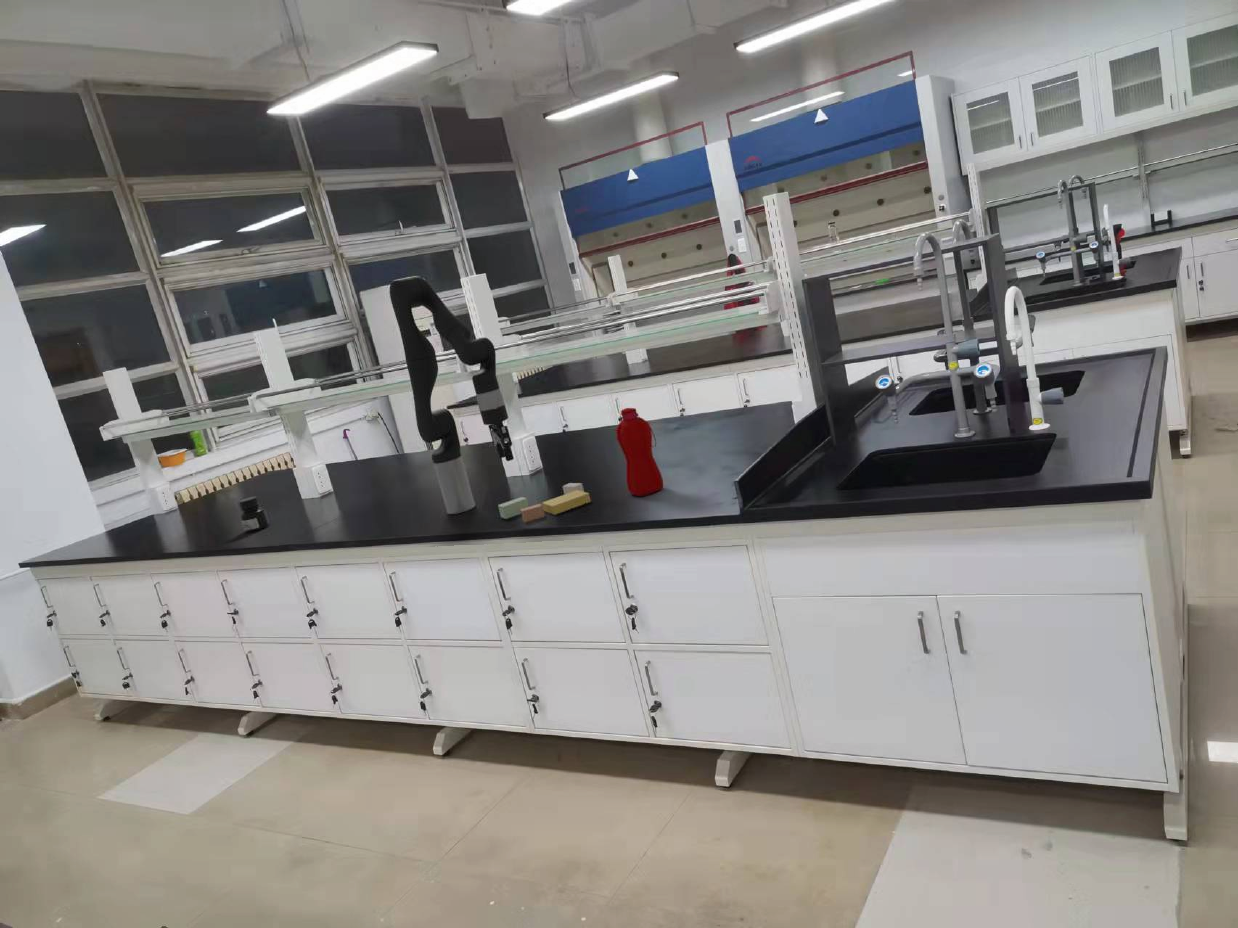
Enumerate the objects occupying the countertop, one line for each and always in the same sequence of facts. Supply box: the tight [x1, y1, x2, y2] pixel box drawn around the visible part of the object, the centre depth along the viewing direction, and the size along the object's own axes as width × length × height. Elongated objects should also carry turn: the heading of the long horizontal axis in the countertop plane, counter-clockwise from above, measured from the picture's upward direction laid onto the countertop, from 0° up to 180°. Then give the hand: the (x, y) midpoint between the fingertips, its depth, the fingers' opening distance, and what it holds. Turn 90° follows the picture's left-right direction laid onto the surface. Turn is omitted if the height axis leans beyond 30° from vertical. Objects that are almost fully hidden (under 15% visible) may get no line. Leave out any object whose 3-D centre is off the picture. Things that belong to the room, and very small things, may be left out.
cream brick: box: [562, 482, 585, 495], centre depth 265 cm, size 6×3×4 cm, turn 44°
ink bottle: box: [238, 495, 270, 533], centre depth 326 cm, size 10×9×12 cm
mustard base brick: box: [541, 490, 592, 516], centre depth 255 cm, size 8×12×3 cm, turn 118°
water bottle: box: [615, 407, 664, 497], centre depth 248 cm, size 9×11×25 cm
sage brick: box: [497, 496, 530, 520], centre depth 260 cm, size 4×8×4 cm, turn 118°
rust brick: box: [520, 503, 545, 523], centre depth 250 cm, size 6×3×4 cm, turn 104°
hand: (506, 458), depth 257 cm, fingers open, 8 cm apart
